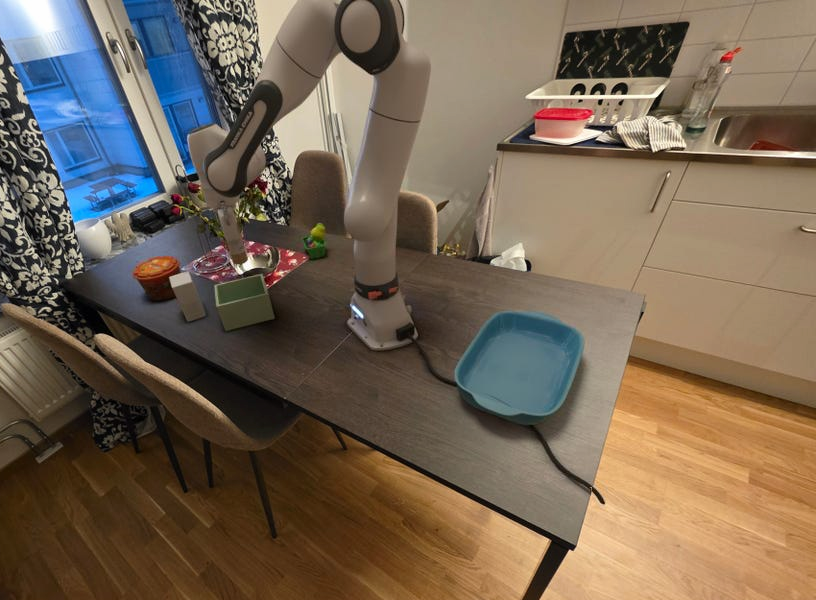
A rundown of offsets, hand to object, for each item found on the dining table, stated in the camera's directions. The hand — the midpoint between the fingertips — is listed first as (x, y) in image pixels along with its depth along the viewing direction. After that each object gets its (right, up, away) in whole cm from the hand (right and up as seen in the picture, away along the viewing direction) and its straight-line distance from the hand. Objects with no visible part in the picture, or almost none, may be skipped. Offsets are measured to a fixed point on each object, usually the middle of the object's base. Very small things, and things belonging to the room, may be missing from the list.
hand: (235, 245), depth 111 cm
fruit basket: (+21, +9, +42) cm, 48 cm away
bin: (0, -18, +14) cm, 23 cm away
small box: (-18, -18, +18) cm, 31 cm away
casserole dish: (+71, -37, -19) cm, 83 cm away
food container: (-33, -8, +31) cm, 46 cm away
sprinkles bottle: (+1, -4, +4) cm, 5 cm away
